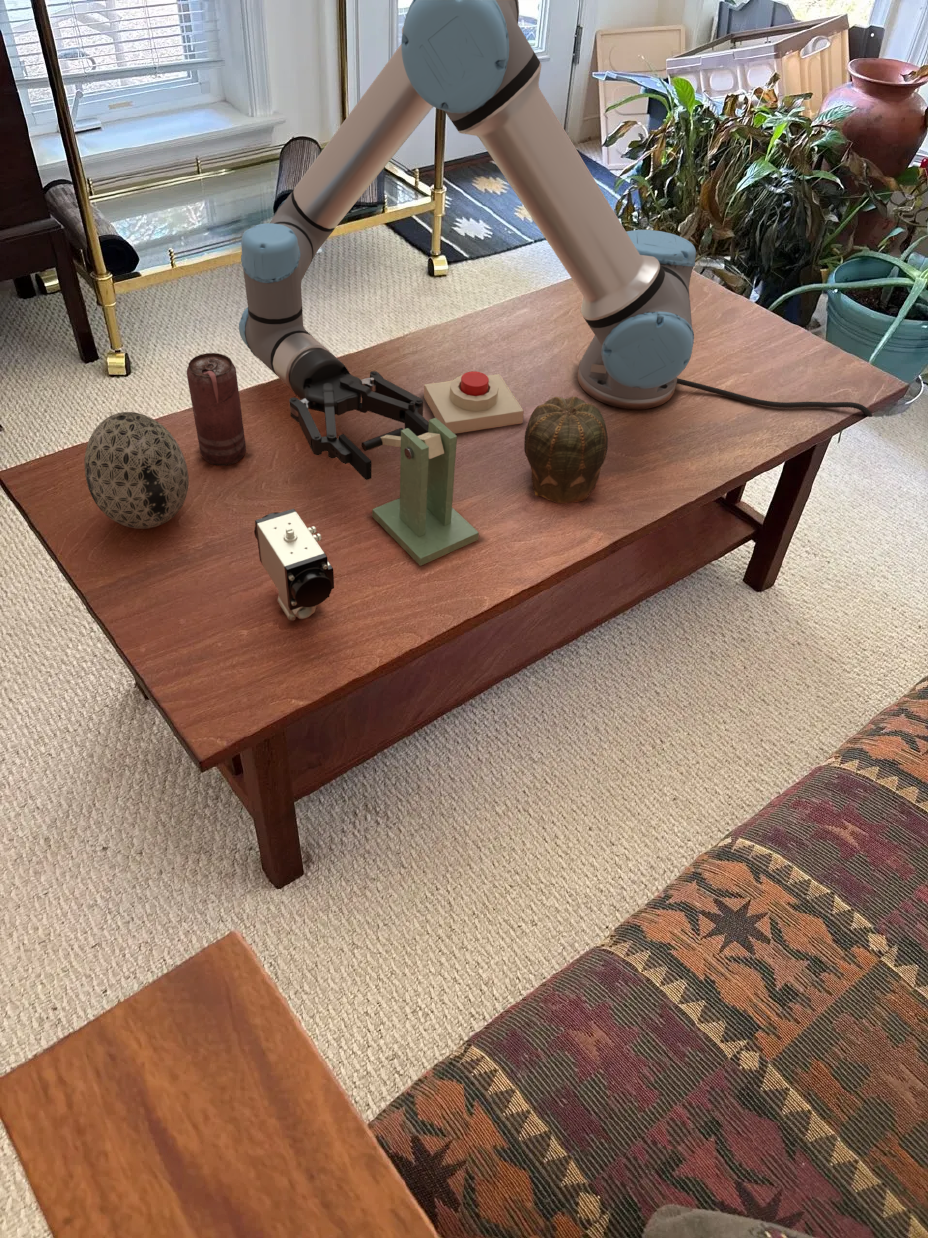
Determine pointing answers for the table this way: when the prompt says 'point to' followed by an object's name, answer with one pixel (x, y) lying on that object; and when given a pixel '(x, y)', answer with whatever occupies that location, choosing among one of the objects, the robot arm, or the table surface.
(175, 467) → the decorative egg
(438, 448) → the lever
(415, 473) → the bracket
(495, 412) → the control box
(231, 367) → the can
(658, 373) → the robot arm
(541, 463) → the dark green ribbed dome
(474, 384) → the button
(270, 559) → the pneumatic valve
